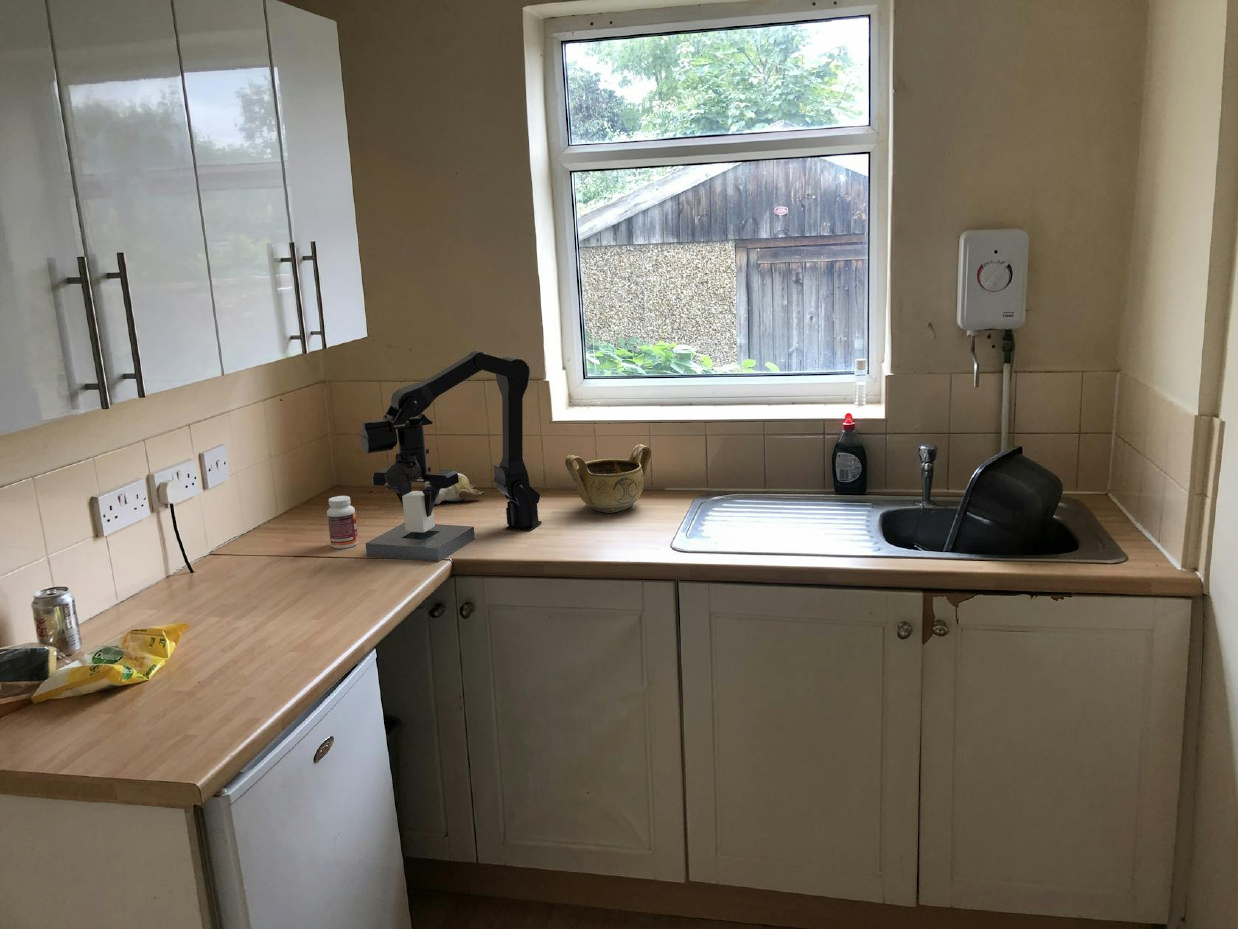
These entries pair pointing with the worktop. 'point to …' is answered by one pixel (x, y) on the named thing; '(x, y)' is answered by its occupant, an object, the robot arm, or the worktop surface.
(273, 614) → the worktop surface
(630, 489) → the ceramic bowl
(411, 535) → the jig plate
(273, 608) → the worktop surface
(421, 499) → the white rectangular block
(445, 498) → the ceramic sculpture
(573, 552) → the worktop surface
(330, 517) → the pill bottle
